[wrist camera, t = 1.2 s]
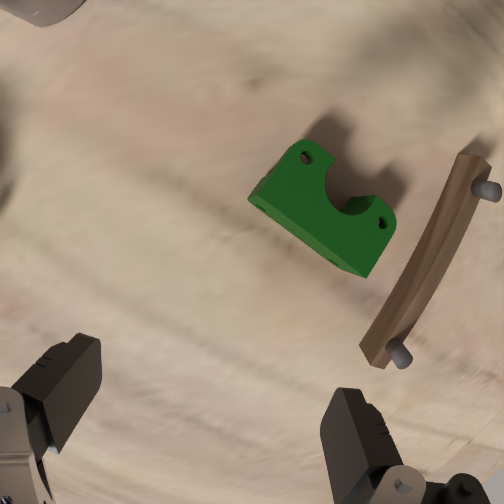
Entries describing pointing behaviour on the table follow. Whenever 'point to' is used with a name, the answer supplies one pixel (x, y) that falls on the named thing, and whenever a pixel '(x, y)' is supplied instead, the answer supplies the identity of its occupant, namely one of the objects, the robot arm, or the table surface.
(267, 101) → the table surface
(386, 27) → the table surface
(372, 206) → the clamp
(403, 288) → the bar
